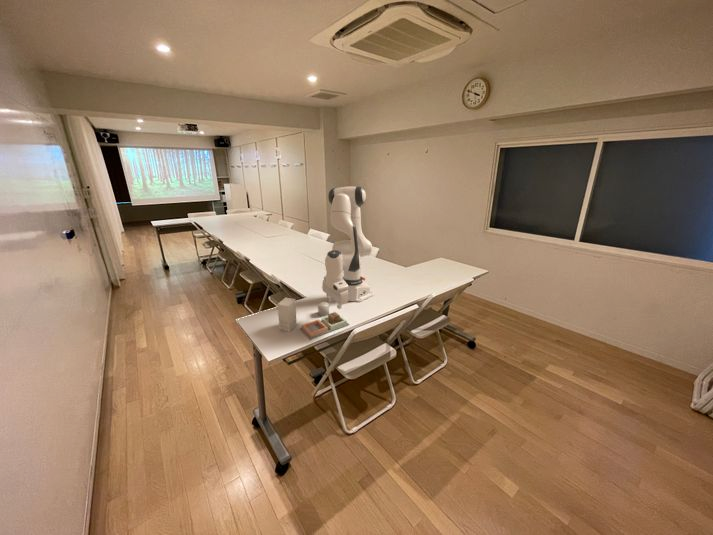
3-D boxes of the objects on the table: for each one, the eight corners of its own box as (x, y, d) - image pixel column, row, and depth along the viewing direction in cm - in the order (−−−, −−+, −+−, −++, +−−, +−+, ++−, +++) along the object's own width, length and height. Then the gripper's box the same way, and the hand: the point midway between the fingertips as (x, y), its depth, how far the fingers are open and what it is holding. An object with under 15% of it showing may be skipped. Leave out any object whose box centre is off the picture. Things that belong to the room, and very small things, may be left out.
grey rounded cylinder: (325, 310, 166) (325, 301, 164) (331, 314, 161) (331, 305, 159) (316, 313, 162) (316, 303, 160) (321, 317, 158) (321, 308, 156)
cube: (335, 319, 154) (335, 311, 153) (339, 323, 151) (339, 315, 149) (328, 322, 152) (328, 314, 150) (332, 325, 148) (332, 317, 147)
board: (337, 316, 159) (337, 312, 159) (349, 325, 150) (349, 320, 150) (299, 328, 146) (299, 324, 145) (310, 339, 137) (309, 335, 136)
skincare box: (287, 322, 152) (285, 296, 147) (297, 324, 150) (296, 298, 145) (278, 330, 144) (276, 303, 139) (290, 332, 143) (288, 305, 137)
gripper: (319, 276, 149) (319, 298, 154) (340, 290, 134) (339, 314, 139) (329, 273, 153) (329, 295, 158) (350, 287, 138) (350, 310, 143)
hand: (334, 304), depth 148 cm, fingers open, 8 cm apart
